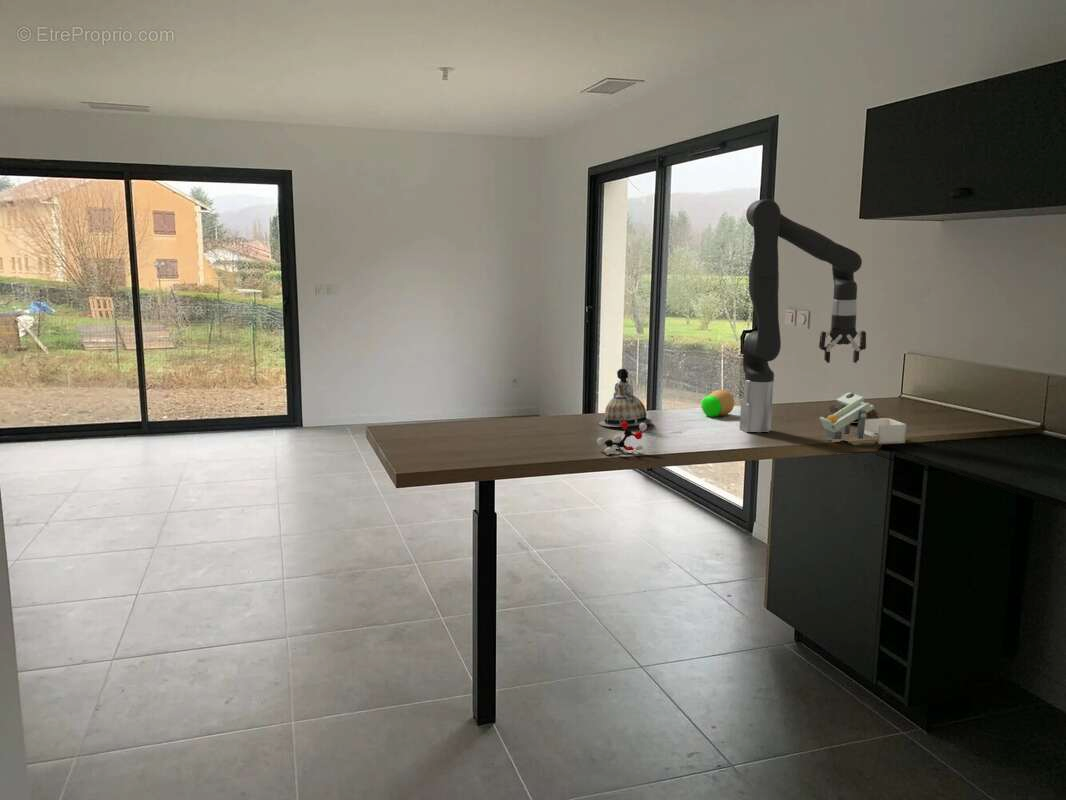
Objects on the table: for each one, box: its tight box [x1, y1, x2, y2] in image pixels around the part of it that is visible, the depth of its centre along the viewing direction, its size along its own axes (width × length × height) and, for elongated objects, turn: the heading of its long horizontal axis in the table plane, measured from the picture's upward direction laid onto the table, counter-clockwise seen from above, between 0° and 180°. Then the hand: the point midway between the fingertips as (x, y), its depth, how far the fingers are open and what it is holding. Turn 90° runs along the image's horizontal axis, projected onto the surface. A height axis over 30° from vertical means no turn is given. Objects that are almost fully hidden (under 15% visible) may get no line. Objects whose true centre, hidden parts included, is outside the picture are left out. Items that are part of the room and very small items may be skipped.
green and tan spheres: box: [701, 389, 735, 418], centre depth 288 cm, size 11×10×12 cm
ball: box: [826, 414, 838, 424], centre depth 250 cm, size 3×3×3 cm
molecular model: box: [596, 421, 648, 452], centre depth 236 cm, size 16×8×10 cm, turn 102°
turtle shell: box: [827, 401, 884, 422], centre depth 281 cm, size 16×9×20 cm
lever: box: [819, 391, 875, 433], centre depth 255 cm, size 17×17×4 cm
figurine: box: [599, 368, 653, 428], centre depth 271 cm, size 18×18×20 cm
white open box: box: [864, 417, 908, 445], centre depth 252 cm, size 9×9×6 cm
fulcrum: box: [825, 405, 876, 447], centre depth 251 cm, size 11×13×10 cm
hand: (841, 362), depth 260 cm, fingers open, 8 cm apart
